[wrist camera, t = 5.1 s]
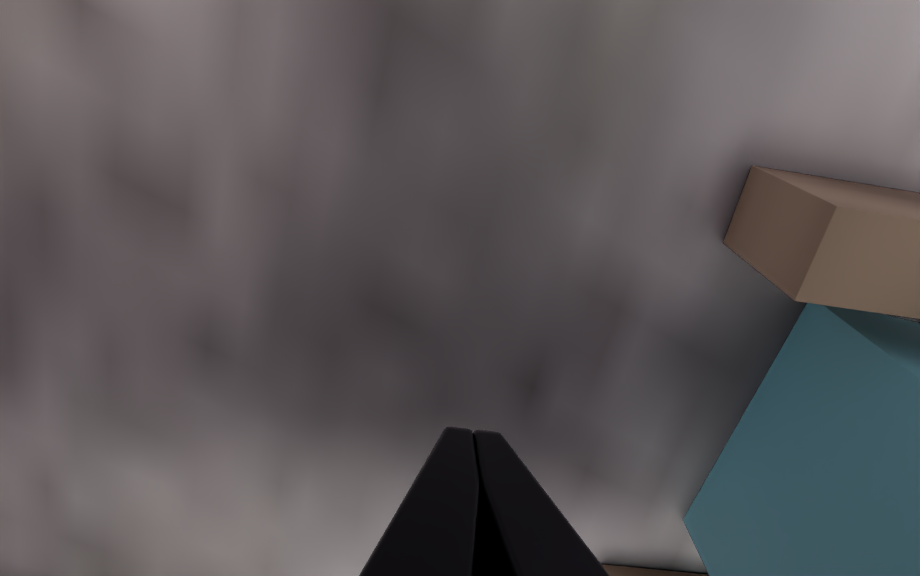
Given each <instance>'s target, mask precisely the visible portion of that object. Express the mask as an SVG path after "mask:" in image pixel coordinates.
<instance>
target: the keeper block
mask: <svg viewBox="0 0 920 576" xmlns="http://www.w3.org/2000/svg"><path fill="white" fill-rule="evenodd" d="M683 521H684V523H685V525H686V528H687V530H688V532H689V534H690V536H691V538H692V540H693V542H694V544H695V547H696V549H697V551H698V553H699V555H700V557H701V559H702V561H703V564H704V566H705V568H706V570H707V572H708V574H709V576H920V323H916V322H912V321H908V320H904V319H900V318H896V317H892V316H888V315H884V314H880V313H875V312H868V311H861V310H854V309H847V308H840V307H833V306H826V305H819V304H812V303H807V304H806V306H805V308H804V310H803V311H802V313H801V315H800V317H799V318H798V320H797V322H796V323H795V325H794V327H793V329H792V330H791V332H790V334H789V336H788V337H787V339H786V341H785V343H784V344H783V346H782V348H781V350H780V351H779V353H778V355H777V357H776V358H775V360H774V362H773V364H772V365H771V367H770V369H769V371H768V372H767V374H766V376H765V377H764V379H763V381H762V383H761V384H760V386H759V388H758V390H757V391H756V393H755V395H754V397H753V398H752V400H751V402H750V404H749V405H748V407H747V409H746V411H745V412H744V414H743V416H742V418H741V419H740V421H739V423H738V425H737V426H736V428H735V430H734V431H733V433H732V435H731V437H730V438H729V440H728V442H727V444H726V445H725V447H724V449H723V451H722V452H721V454H720V456H719V458H718V459H717V461H716V463H715V465H714V466H713V468H712V470H711V472H710V473H709V475H708V477H707V479H706V480H705V482H704V484H703V485H702V487H701V489H700V491H699V492H698V494H697V496H696V498H695V499H694V501H693V503H692V505H691V506H690V508H689V510H688V512H687V513H686V515H685V517H684V519H683Z"/></svg>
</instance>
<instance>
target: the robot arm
mask: <svg viewBox="0 0 920 576" xmlns="http://www.w3.org/2000/svg"><path fill="white" fill-rule="evenodd" d="M359 576H610V575H609V574H608V573H607V571H606V570H605V569H604V568H603V566H602V565H601V564H600V562H599V561H598V560H597V558H596V557H595V556H594V555H593V553H592V552H591V551H590V549H589V548H588V547H587V545H586V544H585V543H584V541H583V540H582V539H581V538H580V536H579V535H578V534H577V532H576V531H575V530H574V528H573V527H572V526H571V525H570V523H569V522H568V521H567V519H566V518H565V517H564V515H563V514H562V513H561V511H560V510H559V509H558V508H557V506H556V505H555V504H554V502H553V501H552V500H551V498H550V497H549V496H548V495H547V493H546V492H545V491H544V489H543V488H542V487H541V485H540V484H539V483H538V482H537V480H536V479H535V478H534V476H533V475H532V474H531V472H530V471H529V470H528V468H527V467H526V466H525V465H524V463H523V462H522V461H521V459H520V458H519V457H518V455H517V454H516V453H515V452H514V450H513V449H512V448H511V446H510V445H509V444H508V442H507V441H506V440H505V438H504V437H503V436H502V435H501V434H500V433H498V432H492V431H483V430H475V431H474V432H473V433H472V431H471V430H470V429H466V428H458V427H446V428H445V429H444V431H443V432H442V434H441V436H440V438H439V439H438V441H437V443H436V444H435V446H434V448H433V450H432V451H431V453H430V455H429V456H428V458H427V460H426V462H425V463H424V465H423V467H422V469H421V470H420V472H419V474H418V475H417V477H416V479H415V481H414V482H413V484H412V486H411V487H410V489H409V491H408V493H407V494H406V496H405V498H404V499H403V501H402V503H401V505H400V506H399V508H398V510H397V511H396V513H395V515H394V517H393V518H392V520H391V522H390V523H389V525H388V527H387V529H386V530H385V532H384V534H383V536H382V537H381V539H380V541H379V542H378V544H377V546H376V548H375V549H374V551H373V553H372V554H371V556H370V558H369V560H368V561H367V563H366V565H365V566H364V568H363V570H362V572H361V573H360V575H359Z"/></svg>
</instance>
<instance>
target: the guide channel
mask: <svg viewBox="0 0 920 576" xmlns="http://www.w3.org/2000/svg"><path fill="white" fill-rule="evenodd" d="M723 243H724V244H725V245H726V246H727V247H729V248H730V249H731V250H732V251H733V252H735V253H736V254H737V255H738V256H740V257H741V258H742V259H743V260H745V261H746V262H747V263H748V264H750V265H751V266H752V267H753V268H754V269H756V270H757V271H758V272H759V273H761V274H762V275H763V276H764V277H766V278H767V279H768V280H769V281H771V282H772V283H773V284H774V285H775V286H777V287H778V288H779V289H780V290H782V291H783V292H784V293H785V294H787V295H788V296H789V297H790V298H792V299H793V300H794V301H798V302H805V303H812V304H819V305H826V306H833V307H840V308H847V309H854V310H861V311H868V312H875V313H882V314H889V315H896V316H903V317H910V318H917V319H920V193H916V192H910V191H904V190H898V189H892V188H886V187H880V186H873V185H867V184H861V183H855V182H849V181H843V180H837V179H831V178H825V177H819V176H813V175H807V174H801V173H794V172H788V171H782V170H776V169H770V168H764V167H758V166H752V167H751V170H750V172H749V175H748V178H747V180H746V183H745V186H744V188H743V191H742V194H741V196H740V199H739V202H738V204H737V207H736V210H735V212H734V215H733V218H732V220H731V223H730V226H729V228H728V231H727V234H726V236H725V239H724V242H723ZM602 566H603V568H604V569H605V570H606V571H607V573H608V574H609V575H610V576H709V575H705V574H695V573H685V572H675V571H665V570H654V569H644V568H634V567H624V566H614V565H604V564H602Z"/></svg>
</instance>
